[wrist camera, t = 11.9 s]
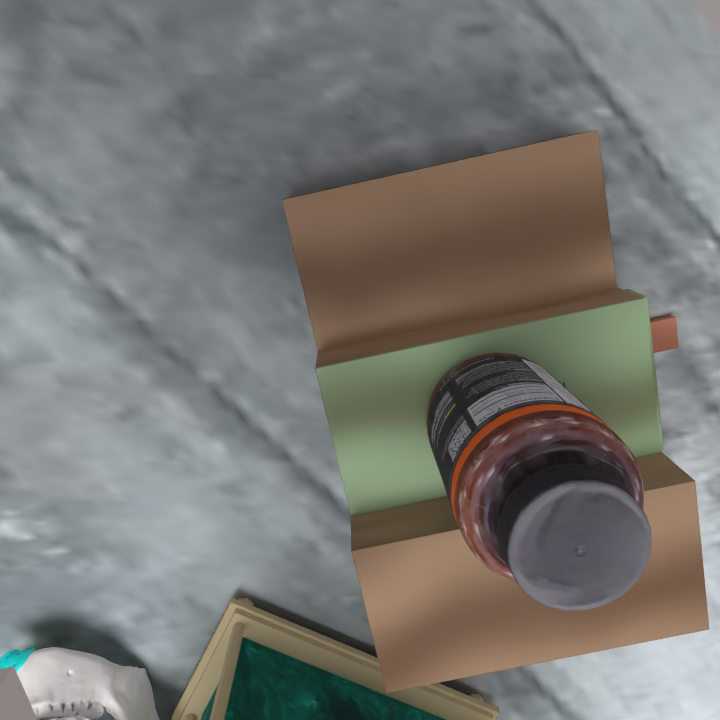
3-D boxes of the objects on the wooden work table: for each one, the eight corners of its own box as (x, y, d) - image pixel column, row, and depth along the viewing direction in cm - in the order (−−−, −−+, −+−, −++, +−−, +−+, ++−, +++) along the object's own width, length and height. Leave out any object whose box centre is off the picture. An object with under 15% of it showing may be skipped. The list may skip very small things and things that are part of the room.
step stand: (287, 198, 33) (266, 204, 24) (650, 117, 32) (764, 93, 23) (376, 575, 38) (386, 693, 29) (689, 512, 37) (793, 612, 29)
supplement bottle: (559, 475, 30) (682, 642, 19) (425, 482, 30) (472, 654, 19) (563, 344, 29) (698, 445, 18) (422, 351, 29) (470, 457, 18)
